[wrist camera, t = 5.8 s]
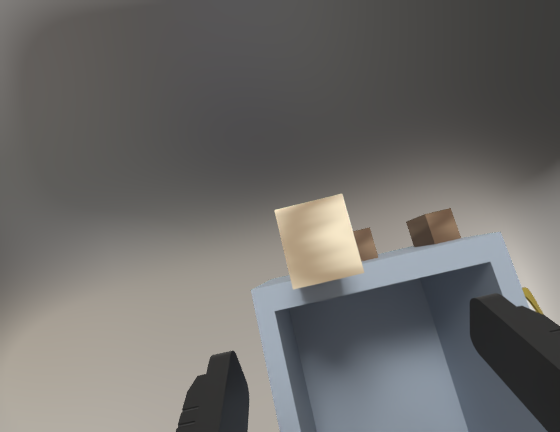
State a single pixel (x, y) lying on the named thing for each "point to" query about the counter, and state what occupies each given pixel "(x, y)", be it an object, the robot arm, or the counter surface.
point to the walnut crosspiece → (414, 233)
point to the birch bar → (318, 241)
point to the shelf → (391, 344)
